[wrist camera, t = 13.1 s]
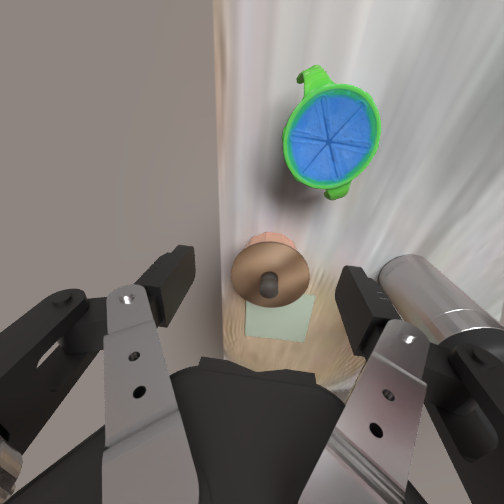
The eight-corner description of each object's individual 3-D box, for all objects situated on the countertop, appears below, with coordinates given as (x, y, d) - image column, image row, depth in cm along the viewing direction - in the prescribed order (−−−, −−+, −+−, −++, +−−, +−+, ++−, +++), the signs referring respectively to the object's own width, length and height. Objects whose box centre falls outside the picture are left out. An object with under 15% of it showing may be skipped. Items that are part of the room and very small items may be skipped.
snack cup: (271, 90, 30) (268, 73, 22) (350, 62, 28) (382, 30, 19) (291, 197, 37) (295, 217, 29) (355, 181, 35) (381, 198, 26)
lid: (326, 270, 36) (331, 286, 33) (276, 315, 43) (276, 333, 39) (260, 225, 34) (258, 237, 30) (218, 280, 40) (212, 295, 36)
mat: (303, 340, 55) (304, 342, 54) (245, 333, 56) (244, 335, 55) (314, 294, 47) (315, 296, 47) (247, 287, 48) (246, 289, 48)
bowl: (309, 253, 42) (314, 271, 37) (275, 287, 47) (275, 308, 42) (264, 221, 40) (262, 236, 35) (234, 261, 45) (227, 279, 40)
